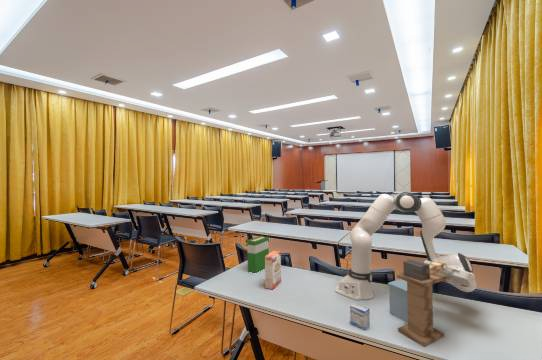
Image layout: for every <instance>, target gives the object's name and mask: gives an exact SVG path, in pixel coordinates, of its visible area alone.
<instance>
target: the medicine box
mask: <svg viewBox="0 0 542 360" xmlns="http://www.w3.org/2000/svg"><path fill="white" fill-rule="evenodd" d="M370 317H371V316H370V308H368V307H366V306H364V305H360V304H358V303H355V302H354V303H352V304H351V305H350V306H349V324H350V325H352V326H355V327H358V328H360V329H362V330H363V331H366V330H367V329H368V328H369V327H370V326H371V322H370V319H371V318H370Z"/></svg>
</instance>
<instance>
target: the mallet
mask: <svg viewBox="0 0 542 360" xmlns="http://www.w3.org/2000/svg"><path fill="white" fill-rule="evenodd" d="M402 262H403V272H404V275H406V276H408V277H411V278H414V279H417V280H420V281H423V280H426V279H429V278H430V274H433V273H436V272H439V271H442V270H443V269H442V268H441V267H442V265H445V266H446V262H442V261H438V262H434V263H431V264H427V263H424V261H419V260H416V259H413V258H412V259H408V260H404V261H402Z"/></svg>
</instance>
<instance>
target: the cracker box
mask: <svg viewBox="0 0 542 360" xmlns="http://www.w3.org/2000/svg"><path fill="white" fill-rule="evenodd" d="M281 253H282V251H280V250H272V251H271V252H269V254H268V255H266V256H265V269H264V279H265V280H264V284H265V285H264V286H265V287H264V288H265V289H269V290H274V289H275V288H276V287H277V286H278V285H279V284H280V283H281V282H282V265H281V264H282V254H281Z"/></svg>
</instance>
